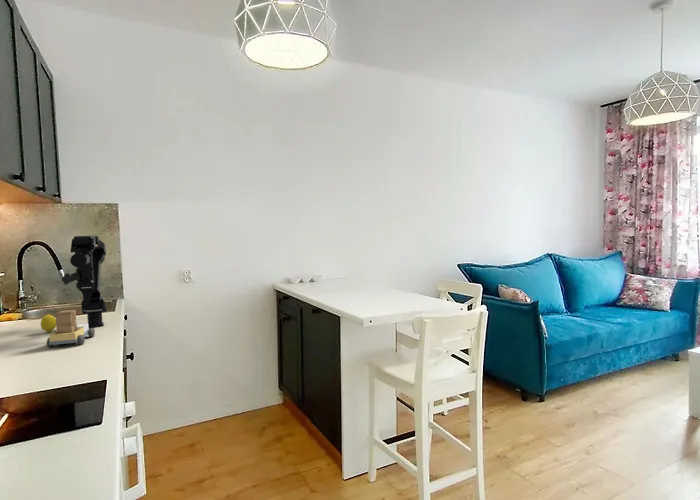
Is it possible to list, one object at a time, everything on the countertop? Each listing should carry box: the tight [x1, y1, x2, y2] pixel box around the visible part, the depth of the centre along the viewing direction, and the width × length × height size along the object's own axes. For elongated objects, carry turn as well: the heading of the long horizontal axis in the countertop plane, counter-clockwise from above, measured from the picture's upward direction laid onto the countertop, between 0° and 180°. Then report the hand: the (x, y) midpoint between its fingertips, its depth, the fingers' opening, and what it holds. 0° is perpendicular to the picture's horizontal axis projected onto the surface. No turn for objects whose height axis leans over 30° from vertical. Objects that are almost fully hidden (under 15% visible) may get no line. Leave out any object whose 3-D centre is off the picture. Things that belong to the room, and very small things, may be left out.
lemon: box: [40, 313, 57, 334], centre depth 182 cm, size 6×6×8 cm
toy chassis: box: [46, 323, 96, 348], centre depth 166 cm, size 16×11×5 cm
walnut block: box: [55, 309, 78, 334], centre depth 162 cm, size 5×5×10 cm
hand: (87, 302), depth 180 cm, fingers open, 9 cm apart
